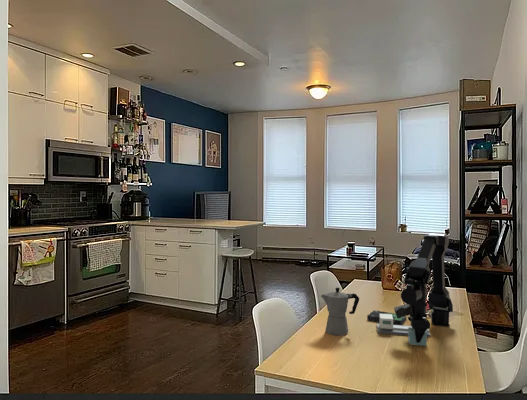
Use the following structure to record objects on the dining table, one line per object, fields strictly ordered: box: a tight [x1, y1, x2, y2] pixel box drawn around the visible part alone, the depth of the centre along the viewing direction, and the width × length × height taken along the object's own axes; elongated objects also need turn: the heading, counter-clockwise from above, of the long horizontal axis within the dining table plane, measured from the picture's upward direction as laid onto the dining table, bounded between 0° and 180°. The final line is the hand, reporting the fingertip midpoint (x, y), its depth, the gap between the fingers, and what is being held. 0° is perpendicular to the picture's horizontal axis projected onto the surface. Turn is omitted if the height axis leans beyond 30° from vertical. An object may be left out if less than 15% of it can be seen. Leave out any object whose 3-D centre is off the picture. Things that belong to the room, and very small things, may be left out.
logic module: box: [407, 327, 428, 347], centre depth 165 cm, size 6×5×5 cm
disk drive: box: [366, 310, 407, 325], centre depth 194 cm, size 10×3×15 cm
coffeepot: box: [320, 287, 360, 336], centre depth 177 cm, size 15×9×18 cm, turn 90°
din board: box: [376, 314, 432, 338], centre depth 179 cm, size 20×10×6 cm, turn 78°
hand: (417, 340), depth 165 cm, fingers closed on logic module, 5 cm apart
